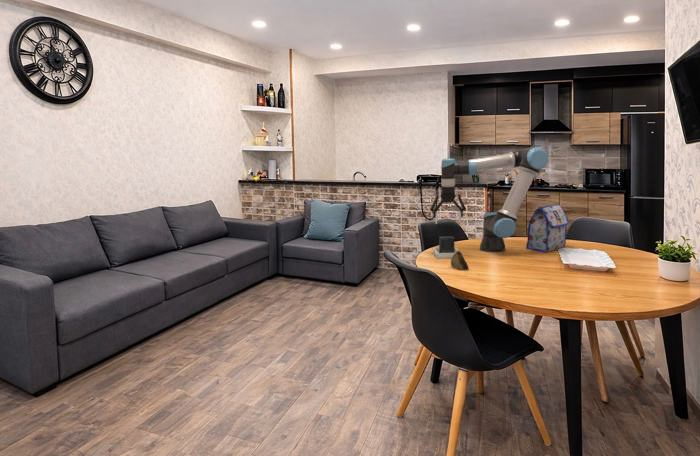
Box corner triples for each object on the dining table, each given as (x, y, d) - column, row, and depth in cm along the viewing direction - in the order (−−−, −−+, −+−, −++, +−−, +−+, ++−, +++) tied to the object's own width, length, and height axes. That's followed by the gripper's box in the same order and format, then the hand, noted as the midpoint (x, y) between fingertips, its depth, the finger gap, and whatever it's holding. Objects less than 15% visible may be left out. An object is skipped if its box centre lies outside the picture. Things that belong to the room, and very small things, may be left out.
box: (452, 253, 267) (452, 235, 266) (454, 255, 262) (454, 237, 260) (438, 253, 267) (439, 236, 266) (440, 255, 262) (440, 237, 260)
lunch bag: (550, 254, 265) (553, 208, 261) (524, 249, 278) (526, 206, 273) (569, 248, 279) (572, 205, 274) (543, 244, 292) (546, 203, 287)
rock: (445, 261, 243) (447, 263, 233) (455, 248, 242) (458, 249, 232) (461, 273, 243) (465, 275, 233) (471, 260, 242) (475, 262, 232)
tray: (456, 252, 272) (456, 248, 271) (461, 258, 258) (461, 253, 257) (432, 253, 272) (432, 248, 271) (436, 258, 258) (436, 253, 257)
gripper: (468, 184, 261) (468, 221, 265) (425, 186, 262) (425, 222, 265) (471, 185, 254) (471, 223, 258) (427, 187, 255) (427, 224, 258)
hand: (447, 223), depth 262 cm, fingers open, 13 cm apart
